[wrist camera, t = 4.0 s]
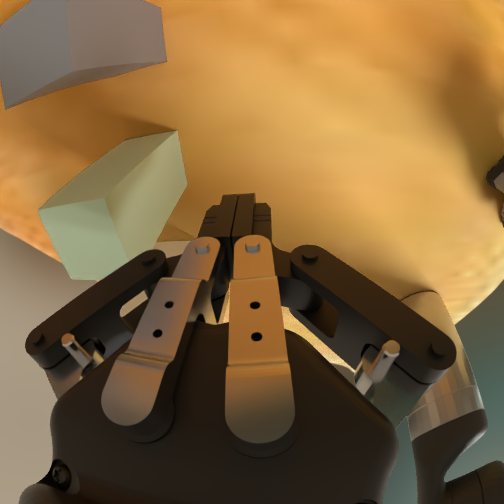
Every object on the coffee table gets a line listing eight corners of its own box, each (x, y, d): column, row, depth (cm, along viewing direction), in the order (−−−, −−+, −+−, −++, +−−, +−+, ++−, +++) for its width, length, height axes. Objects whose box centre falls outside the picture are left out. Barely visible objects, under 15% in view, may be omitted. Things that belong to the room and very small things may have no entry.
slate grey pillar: (160, 7, 14) (66, -23, 4) (166, 61, 17) (72, 71, 7) (105, 26, 14) (-4, 29, 5) (112, 77, 17) (5, 109, 8)
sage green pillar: (177, 130, 20) (104, 198, 11) (187, 184, 24) (137, 280, 14) (124, 140, 21) (37, 210, 11) (137, 190, 24) (71, 279, 15)
